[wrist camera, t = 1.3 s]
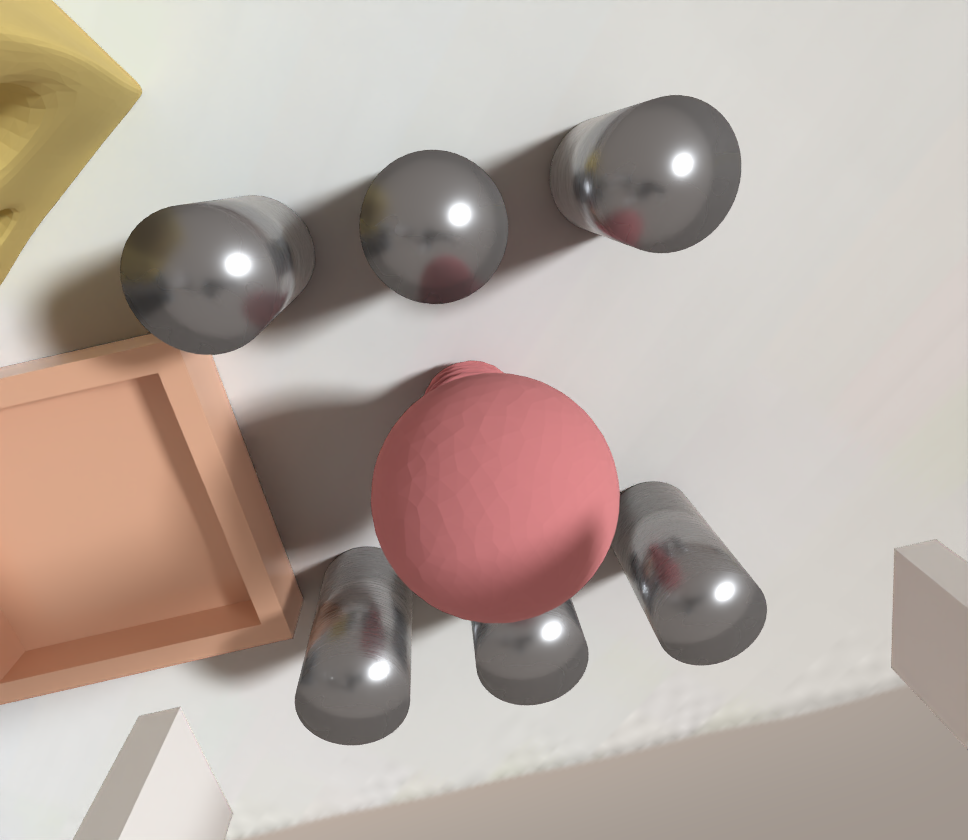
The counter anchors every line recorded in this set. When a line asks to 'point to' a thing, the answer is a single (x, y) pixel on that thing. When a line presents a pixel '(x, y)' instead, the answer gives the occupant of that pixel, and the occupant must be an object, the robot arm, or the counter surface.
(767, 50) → the counter surface
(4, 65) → the cheese
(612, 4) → the counter surface
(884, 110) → the counter surface
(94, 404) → the dish
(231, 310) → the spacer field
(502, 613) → the light bulb
